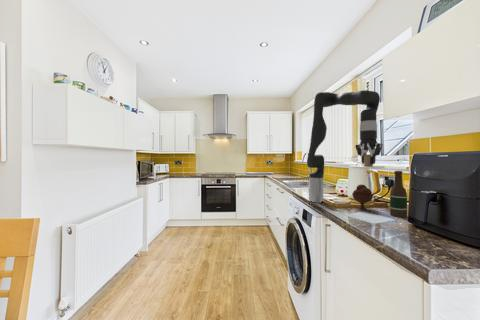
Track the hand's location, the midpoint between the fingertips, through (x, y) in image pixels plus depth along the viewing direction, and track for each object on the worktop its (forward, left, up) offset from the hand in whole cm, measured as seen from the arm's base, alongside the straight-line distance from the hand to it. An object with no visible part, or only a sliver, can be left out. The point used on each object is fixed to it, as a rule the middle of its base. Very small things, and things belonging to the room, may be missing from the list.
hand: (368, 163), depth 112 cm
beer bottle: (+4, +17, -28) cm, 33 cm away
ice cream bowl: (-14, +13, -28) cm, 34 cm away
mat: (0, 0, -28) cm, 28 cm away
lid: (0, 0, -2) cm, 2 cm away
